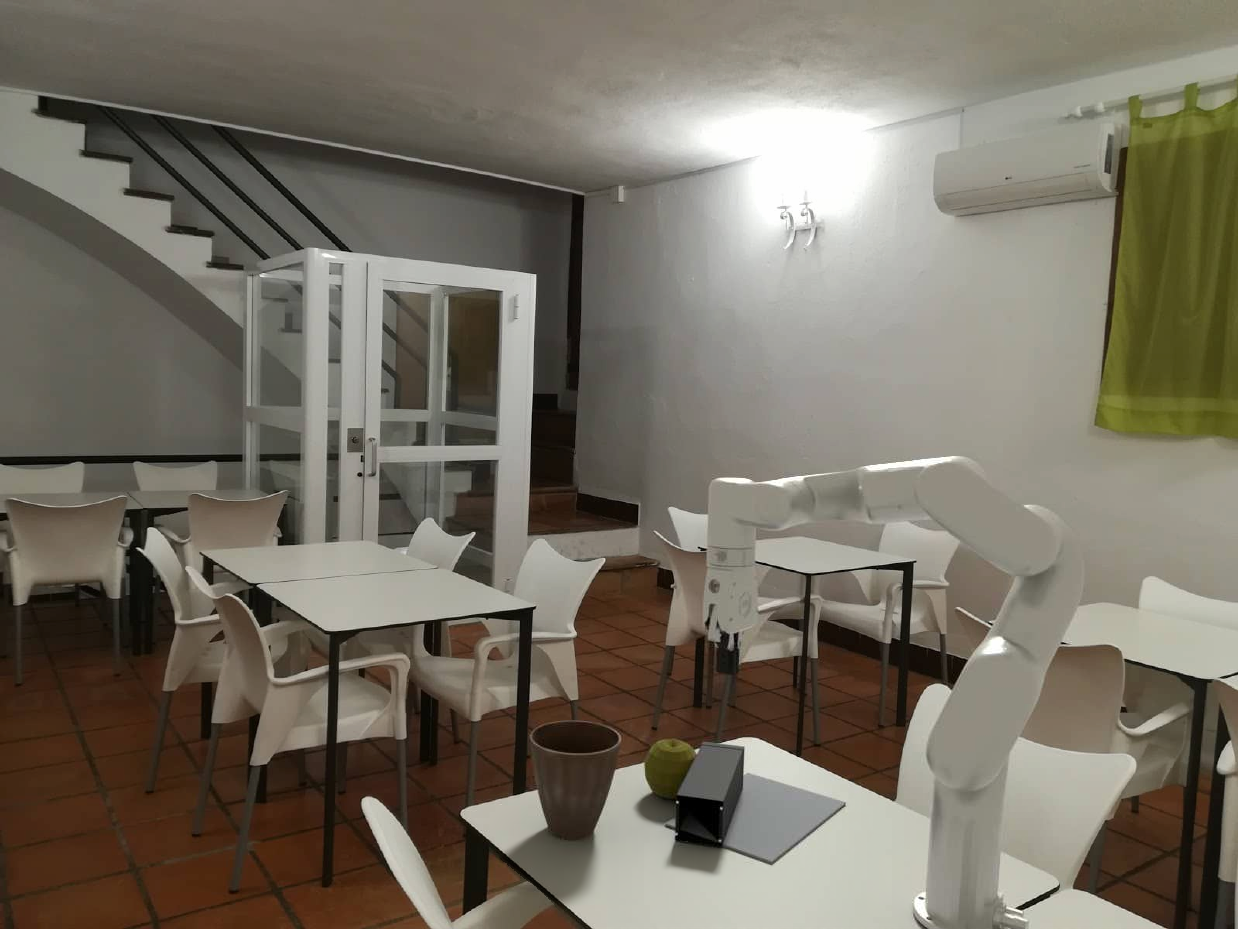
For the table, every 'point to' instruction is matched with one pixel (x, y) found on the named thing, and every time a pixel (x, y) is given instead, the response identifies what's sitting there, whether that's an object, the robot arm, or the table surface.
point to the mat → (769, 818)
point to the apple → (668, 766)
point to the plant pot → (573, 774)
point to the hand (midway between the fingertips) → (727, 672)
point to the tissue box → (711, 791)
